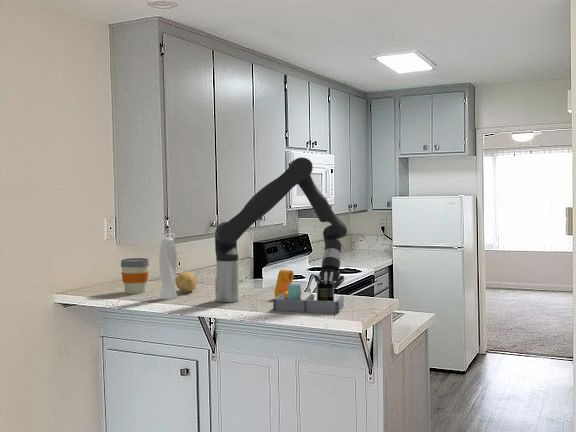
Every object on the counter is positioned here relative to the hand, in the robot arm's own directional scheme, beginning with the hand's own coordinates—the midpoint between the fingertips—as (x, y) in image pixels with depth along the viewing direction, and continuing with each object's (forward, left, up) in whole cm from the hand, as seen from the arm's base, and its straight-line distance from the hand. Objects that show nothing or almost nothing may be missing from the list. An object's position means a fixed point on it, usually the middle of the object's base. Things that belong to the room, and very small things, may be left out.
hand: (326, 295), depth 249 cm
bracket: (-8, +25, -5) cm, 27 cm away
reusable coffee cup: (-71, +59, -5) cm, 93 cm away
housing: (-8, -1, -4) cm, 9 cm away
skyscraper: (-58, +39, -5) cm, 70 cm away
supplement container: (-2, -3, -5) cm, 6 cm away
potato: (-48, +53, -5) cm, 72 cm away
